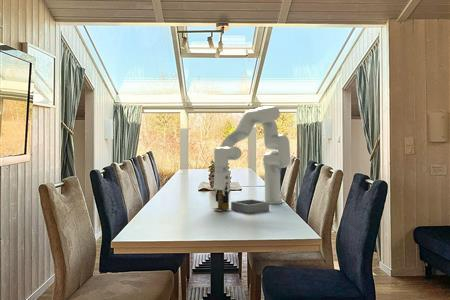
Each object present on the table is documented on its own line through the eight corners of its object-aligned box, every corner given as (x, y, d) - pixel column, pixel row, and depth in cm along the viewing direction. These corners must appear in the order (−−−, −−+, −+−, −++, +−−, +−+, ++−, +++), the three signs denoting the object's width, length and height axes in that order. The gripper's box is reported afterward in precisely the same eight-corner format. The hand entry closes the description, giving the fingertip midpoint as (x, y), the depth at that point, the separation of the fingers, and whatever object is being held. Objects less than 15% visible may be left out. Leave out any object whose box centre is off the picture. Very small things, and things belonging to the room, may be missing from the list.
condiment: (231, 209, 224) (231, 187, 224) (219, 211, 220) (218, 189, 219) (224, 207, 230) (224, 186, 230) (212, 209, 226) (211, 187, 225)
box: (251, 206, 237) (251, 199, 236) (269, 210, 224) (269, 202, 224) (231, 209, 228) (231, 201, 228) (248, 213, 216) (247, 205, 215)
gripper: (236, 170, 219) (236, 203, 220) (217, 168, 233) (218, 199, 234) (225, 171, 215) (225, 205, 215) (207, 169, 229) (207, 200, 229)
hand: (221, 201), depth 225 cm, fingers closed on condiment, 6 cm apart
